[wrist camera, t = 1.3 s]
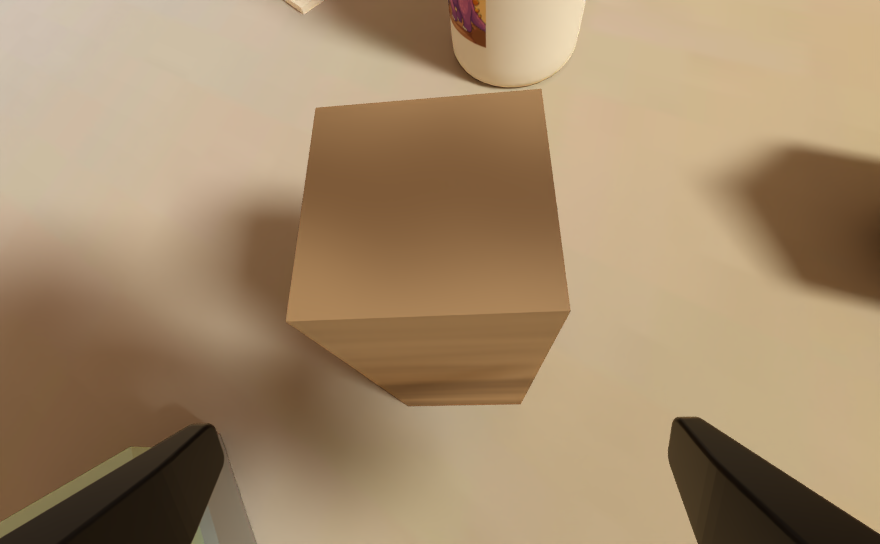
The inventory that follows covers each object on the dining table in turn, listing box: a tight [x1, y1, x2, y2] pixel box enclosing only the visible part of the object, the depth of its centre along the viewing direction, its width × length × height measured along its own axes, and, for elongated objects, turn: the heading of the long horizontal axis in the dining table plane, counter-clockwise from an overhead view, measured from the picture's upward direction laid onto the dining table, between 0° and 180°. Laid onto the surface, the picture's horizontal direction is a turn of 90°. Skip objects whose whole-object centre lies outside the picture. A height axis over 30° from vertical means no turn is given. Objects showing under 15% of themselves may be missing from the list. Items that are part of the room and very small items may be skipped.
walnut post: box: [286, 89, 570, 406], centre depth 15 cm, size 5×5×13 cm
